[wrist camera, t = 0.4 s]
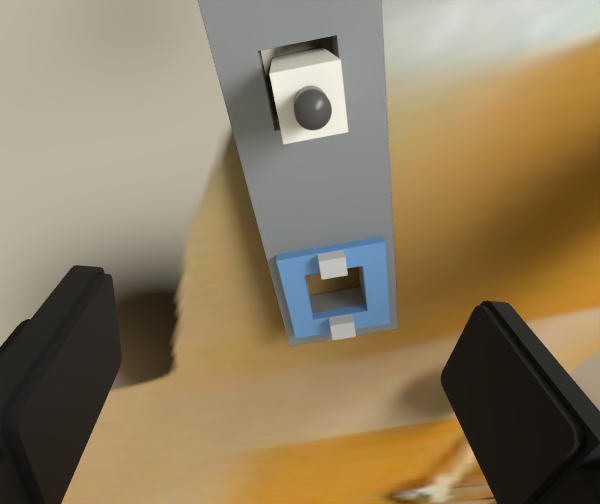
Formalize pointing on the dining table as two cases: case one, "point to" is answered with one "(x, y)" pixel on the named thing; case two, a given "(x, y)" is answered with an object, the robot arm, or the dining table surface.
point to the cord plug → (309, 95)
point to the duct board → (314, 163)
